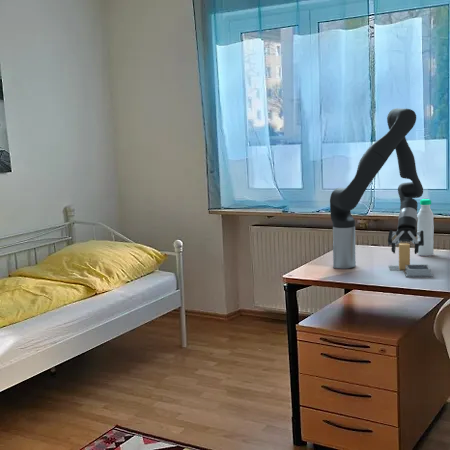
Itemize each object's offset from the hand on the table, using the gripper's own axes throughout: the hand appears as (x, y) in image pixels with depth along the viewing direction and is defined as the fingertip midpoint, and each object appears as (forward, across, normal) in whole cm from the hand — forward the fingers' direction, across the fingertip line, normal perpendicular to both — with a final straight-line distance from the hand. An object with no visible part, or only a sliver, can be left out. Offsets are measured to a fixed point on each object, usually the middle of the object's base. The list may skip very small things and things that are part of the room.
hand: (404, 252), depth 263 cm
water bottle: (-16, +6, +26) cm, 31 cm away
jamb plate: (+5, 0, +4) cm, 7 cm away
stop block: (+5, 0, +4) cm, 6 cm away
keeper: (+12, +6, -3) cm, 14 cm away
